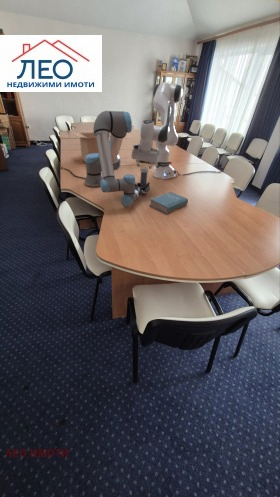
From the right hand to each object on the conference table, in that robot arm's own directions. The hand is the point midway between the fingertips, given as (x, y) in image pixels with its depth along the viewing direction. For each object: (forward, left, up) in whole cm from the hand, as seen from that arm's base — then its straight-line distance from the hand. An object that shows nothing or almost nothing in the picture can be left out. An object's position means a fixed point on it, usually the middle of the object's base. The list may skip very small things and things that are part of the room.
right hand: (144, 167), depth 161 cm
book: (-8, +25, -21) cm, 34 cm away
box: (+10, -96, -21) cm, 99 cm away
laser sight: (-46, -78, -21) cm, 93 cm away
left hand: (-4, -4, -14) cm, 15 cm away
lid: (0, 0, -1) cm, 1 cm away
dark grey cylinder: (0, 0, -21) cm, 21 cm away
